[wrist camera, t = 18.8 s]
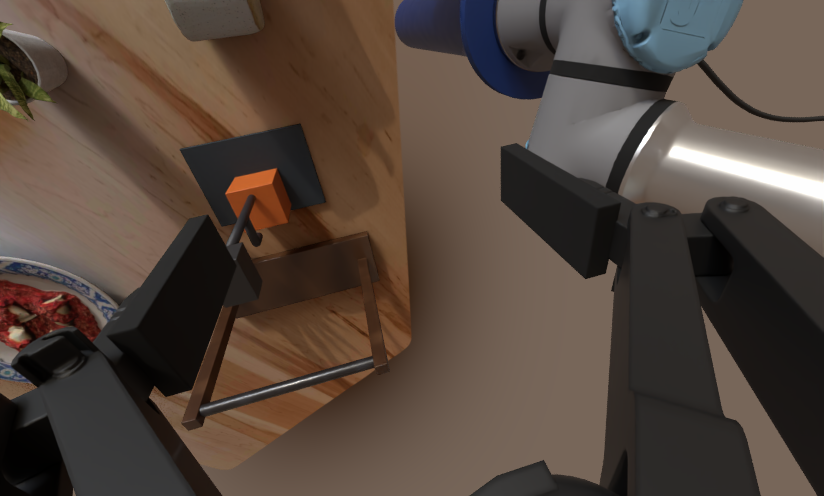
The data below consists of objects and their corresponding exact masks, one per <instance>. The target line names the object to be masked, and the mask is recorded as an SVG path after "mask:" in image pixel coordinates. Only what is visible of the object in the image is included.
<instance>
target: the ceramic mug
mask: <svg viewBox="0 0 824 496" xmlns="http://www.w3.org/2000/svg"><path fill="white" fill-rule="evenodd" d="M165 2H166V4H167V7H168V9H169V11H170V13H171V15H172V18H173V20H174V21H175V23H176V25H177V26H178V28H179V29H180V30H181V32H182V34H183V35H184V36H185V37H186V38H187V39H188V40H190V41H201V40H209V39H217V38H225V37H232V36H240V35H249V34H253V33H256V32H259V31H261V30H262V29H263V27H264V17H263V12H262V8H261V3H260V0H165Z"/></svg>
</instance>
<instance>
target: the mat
mask: <svg viewBox="0 0 824 496" xmlns="http://www.w3.org/2000/svg"><path fill="white" fill-rule="evenodd" d="M180 151H181V153H182V155H183V156H184V158H185V160H186V162H187V164H188V166H189V167H190V169H191V171H192V173H193V175H194V177H195V178H196V180H197V182H198V184H199V186H200V188H201V189H202V191H203V193H204V195H205V197H206V199H207V200H208V202H209V204H210V206H211V208H212V210H213V211H214V213H215V215H216V217H217V219H218V221H219V222H220V224H221V226H222V227H223V226H227V225H231V224H235V223H236V222H237V219H238V218H237V216H236V214H235V212H234V210H233V209H232V207H231V205H230V203H229V201H228V199H227V197H226V195H225V193H226V191H227V190H228V188H229V186H230V185H231V183H232V181H233V180H234V178H235V177H239V176H244V175H248V174H253V173H257V172H262V171H266V170H271V169H275V168H277V169H278V172H279V174H280V177H281V180H282V182H283V185H284V187H285V190H286V192H287V195H288V197H289V200H290V202H291V210H295V209H299V208H303V207H308V206H312V205H316V204H320V203H325V202H326V201H325V198H324V195H323V191H322V188H321V185H320V182H319V179H318V176H317V173H316V170H315V167H314V164H313V161H312V158H311V155H310V152H309V149H308V146H307V143H306V140H305V137H304V134H303V130H302V127H301V124H297V125H292V126H288V127H283V128H278V129H273V130H268V131H264V132H259V133H254V134H249V135H245V136H240V137H235V138H230V139H226V140H221V141H216V142H211V143H207V144H202V145H197V146H192V147H187V148H183V149H180ZM291 210H290V211H291Z"/></svg>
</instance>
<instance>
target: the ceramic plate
mask: <svg viewBox="0 0 824 496" xmlns="http://www.w3.org/2000/svg"><path fill="white" fill-rule="evenodd" d="M118 307H119V306H118V304H117V303H116V302H115V301H114V300H113V299H112V298H111V297H110V296H108V295H107V294H106V293H105V292H103V291H102V290H101V289H99V288H98V287H96V286H95V285H93V284H91V283H90V282H88V281H86V280H84V279H82V278H81V277H79V276H76V275H74V274H72V273H70V272H67V271H65V270H62V269H59V268H57V267H53V266H50V265H47V264H43V263H39V262H35V261H31V260H25V259H20V258H12V257H1V256H0V379H4V380H9V381H17V382H25V383H31V382H30V381H29V380H27V379H26V378H25V377H23V376H22V375H21V374H19V373H18V372H17V371H15V370H14V369H13V368H12V367H11V363H12V360H13V359H14V358H15V356H16V355H17V354H18V353H19V352H20V351H21V350H22V349H24V348H25V347H26V346H27V345H28V344H30V343H32V342H33V341H35V340H36V339H38V338H40V337H41V336H43V335H45V334H48V333H50V332H52V331H54V330H57V329H60V328H64V327H72V326H74V327H76V328H78V329H79V330H80V331H81V332H82V333H83V334H84V335H85V336H86V337H87V338H88V339H89V340H90V341H91V342H93V341H94V340H95V338H96V337H97V336H98V334H99V333H100V332H101V330H102V329H103V328H104V326H105V325H106V324H107V322H110V318H111V317H112V315H113V314H114V313H115V312H117V311H116V310H117V309H118Z"/></svg>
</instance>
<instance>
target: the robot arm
mask: <svg viewBox="0 0 824 496" xmlns="http://www.w3.org/2000/svg"><path fill="white" fill-rule="evenodd" d="M742 3H743V0H494V4H493V29H494V34H495V38H496V41H497V44H498V46H499V48H500V50H501V52H502V54H503V55H504V56H505V58H506V59H507V60H508V61H509V62H510V63H511V64H513V65H514V66H516V67H518V68H520V69H523V70H527V71H532V72H544V71H550V73H549V76H548V79H547V82H546V86H545V89H544V92H543V96H542V99H541V102H540V106H539V109H538V112H537V115H536V119H535V122H534V125H533V129H532V132H531V135H530V138H529V140H528V141H527V143H526V147H525V148H523V147H522V146H520V145H519V144H517V143H515V144H511V145H507V146H503V147H501V201H502V202H503V203H504V204H505V205H506V206H507V207H509V208H510V209H511V210H512V211H513V212H514V213H515V214H516V215H517V216H518V217H519V218H520V219H522V221H524V222H525V223H526V224H527V225H528V226H529V227H530V228H531V229H532V230H533V231H534V232H535V233H537V234H538V235H539V236H540V237H541V238H542V239H543V240H544V241H545V242H546V243H547V244H548V245H549V246H551V247H552V248H553V249H554V250H555V251H556V252H557V253H558V254H559V255H560V256H561V257H562V258H563V259H564V260H565V261H567V262H568V263H569V264H570V265H571V266H572V267H573V268H574V269H575V270H576V271H578V273H579V274H580V275H582V276H583V277H584V278H585V279H587V278H591V277H595V276H598V275H602V274H605V273H606V269H607V265H608V261H609V259H610V260H611V261H612V262H614V263H615V264H617V269H616V273H615V278H614V281H613V286H612V290H611V291H613V292H614V303H613V319H612V336H611V337H612V338H611V353H610V368H609V385H608V401H607V418H606V434H605V451H604V461H603V468H602V473H601V478H600V485H598V484H595V483H593V482H590V481H587V480H584V479H580V478H576V477H573V476H565V475H551V473H550V471H549V469H548V467H547V465H546V463H545V462H544V460H543V461H540V462H537V463H534V464H531V465H528V466H525V467H522V468H519V469H516V470H513V471H510V472H507V473H504V474H501V475H498V476H496V477H495V478H493V479H492V480H490V481H489V482H488V483H486V484H485V485H484V486H482V487H481V488H479V489H478V490H477V491H475V492H474V493H473V494H471V495H470V496H761V495H760V491H759V487H758V483H757V479H756V475H755V471H754V467H753V463H752V459H751V454H750V450H749V447H748V442H747V439H746V436H745V433H744V431H743V428H742V427H741V425H740V424H739V423H738V422H737V421H736V420H732V419H729V418H726V417H725V416H724V414H723V411H722V407H721V402H720V397H719V392H718V387H717V383H716V378H715V373H714V368H713V363H712V358H711V353H710V349H709V344H708V339H707V335H706V329H705V324H704V319H703V314H702V309H701V306H702V308H703V310H704V311H705V313H706V314H707V316H708V318H709V320H710V321H711V323H712V324H713V326H714V328H715V329H716V331H717V333H718V334H719V336H720V337H721V339H722V341H723V342H724V344H725V345H726V347H727V349H728V351H729V352H730V354H731V355H732V357H733V359H734V360H735V362H736V364H737V365H738V367H739V368H740V370H741V371H742V373H743V375H744V377H745V378H746V380H747V381H748V383H749V385H750V386H751V388H752V390H753V391H754V393H755V394H756V396H757V398H758V399H759V401H760V403H761V404H762V406H763V408H764V409H765V411H766V412H767V414H768V416H769V417H770V419H771V420H772V422H773V424H774V425H775V427H776V429H777V430H778V432H779V434H780V435H781V437H782V438H783V440H784V442H785V443H786V445H787V447H788V448H789V450H790V451H791V453H792V455H793V457H794V458H795V460H796V461H797V463H798V464H799V466H800V468H801V470H802V471H803V473H804V474H805V476H806V478H807V479H808V481H809V483H810V484H811V486H812V487H813V489H814V491H815V492H816V494H817V496H824V150H822V149H818V148H813V147H808V146H803V145H798V144H793V143H788V142H783V141H779V140H773V139H769V138H764V137H759V136H754V135H749V134H744V133H739V132H735V131H729V130H725V129H720V128H714V127H710V126H705V125H700V124H697V123H696V122H694V121H693V119H692V117H691V115H690V113H689V111H688V109H687V107H686V105H685V104H684V103H682V102H678V101H672V100H666V99H664V97H665V94H666V92H667V90H668V88H669V85H670V83H671V81H672V79H673V77H674V75H675V73H676V72H678V71H681V70H683V69H687V68H689V67H691V66H693V65H695V64H698V65H699V66H700V68H701V69H702V70H703V71H704V72H705V73H706V75H707V76H708V77H709V78H710V79H711V80H712V82H713V83H714V84H715V85H716V86H717V87H718V88H719V89H720V90H721V91H722V92H723V93H724V94H725V95H726V96H727V97H728V98H729V99H730V100H731V101H733V102H734V103H735V104H736V105H738V106H739V107H741V108H742V109H744V110H746V111H747V112H749V113H751V114H753V115H756V116H759V117H762V118H765V119H769V120H774V121H782V122H812V121H824V116H818V117H801V118H800V117H799V118H798V117H797V118H796V117H781V116H775V115H771V114H767V113H764V112H761V111H759V110H757V109H755V108H753V107H751V106H750V105H748V104H746V103H745V102H743V101H742V100H741V99H739V98H738V97H737V96H736V95H735V94H734V93H733V92H732V91H731V90H730V89H729V88H728V87H727V86H726V85H725V84H724V83H723V82H722V81H721V80H720V79H719V77H717V75H716V74H715V73H714V71H712V69H711V68H710V67H709V65H708V64H707V63H706V62H705V61H704V60H703V59H704V58H705V57H706V56H707V51H710V50H713V49H715V48H716V47H717V46H718V45H719V43H720V42H721V41H722V40H723V39H724V37H725V36H726V35H727V33H728V31H729V30H730V28H731V27H732V25H733V23H734V21H735V19H736V17H737V15H738V13H739V11H740V8H741V6H742ZM236 267H237V265H236V263H235V261H234V260H233V258H232V256H231V254H230V253H229V251H228V249H227V247H226V245H225V244H224V242H223V240H222V238H221V236H220V235H219V233H218V231H217V229H216V227H215V226H214V224H213V222H212V220H211V219H210V217H209V215H203V216H199V217H195V218H190V219H189V220H188V221H187V223H186V224H185V226H184V227H183V228H182V230H181V231H180V233H179V234H178V235H177V237H176V238H175V240H174V241H173V242H172V244H171V245H170V247H169V248H168V249H167V251H166V252H165V254H164V255H163V256H162V258H161V259H160V261H159V262H158V263H157V265H156V266H155V268H154V269H153V270H152V272H151V273H150V275H149V276H148V277H147V279H146V280H145V282H144V283H143V284H142V286H141V287H140V288H137V289H136V290H135V291H134V292H133V293H131V294H130V295H129V296H128V297H127V298H126V299H124V301H123V302H122V303H121V305H120V306H119V307H118V309H117V310H116V311H117V312H115V313H114V314H113V315H112V317H111V318H110V322H107V324H106V325H105V326H104V328H103V329H102V330H101V332H100V333H99V334H98V336H97V337H96V338H95V340H94V341H93V342H91V341H90V340H89V339H88V338H87V337H86V336H85V335H84V334H83V333H82V332H81V331H80V330H79V329H78V328H76V327H74V326H72V327H64V328H60V329H57V330H54V331H52V332H50V333H48V334H45V335H43V336H41V337H40V338H38V339H36V340H35V341H33V342H32V343H30V344H28V345H27V346H26V347H25V348H24V349H22V350H21V351H20V352H19V353H18V354H17V355H16V356H15V358H14V359H13V360H12V363H11V367H12V368H13V369H14V370H15V371H17V372H18V373H19V374H21V375H22V376H23V377H25V378H26V379H27V380H29V381H30V382H31V383H33V384H34V385H35V386H36V387H38V388H36V389H34V390H32V391H30V392H27V393H25V394H23V395H21V396H19V397H16V398H14V399H12V400H9V399H8V398H7V397H5V396H4V395H2V394H1V393H0V496H72V495H73V488H74V491H75V494H76V496H222V495H221V493H220V492H219V490H218V489H217V488H216V486H215V485H214V484H213V482H212V481H211V480H210V478H209V477H208V475H207V474H206V473H205V471H204V470H203V468H202V467H201V466H200V464H199V463H198V462H197V460H196V459H195V457H194V456H193V455H192V453H191V452H190V451H189V449H188V448H187V446H186V445H185V444H184V442H183V441H182V440H181V438H180V437H179V435H178V434H177V433H176V431H175V430H174V429H173V427H172V426H171V424H170V423H169V422H168V420H167V419H166V418H165V416H164V415H163V413H162V412H161V411H160V409H159V408H158V407H157V405H156V404H155V403H154V402H153V401H152V400H151V399H150V398H149V396H150V394H151V391H152V389H153V387H154V385H155V386H156V387H157V388H158V389H159V391H160V392H161V393H162V394H163V395H164V396H165V397H167V396H171V395H175V394H178V393H182V392H185V391H189V390H192V388H193V385H194V383H195V380H196V377H197V374H198V372H199V369H200V366H201V363H202V361H203V358H204V355H205V352H206V350H207V347H208V344H209V341H210V339H211V336H212V333H213V330H214V328H215V325H216V322H217V319H218V317H219V314H220V311H221V308H222V306H223V303H224V300H225V297H226V295H227V292H228V289H229V287H230V284H231V281H232V278H233V276H234V273H235V270H236Z"/></svg>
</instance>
